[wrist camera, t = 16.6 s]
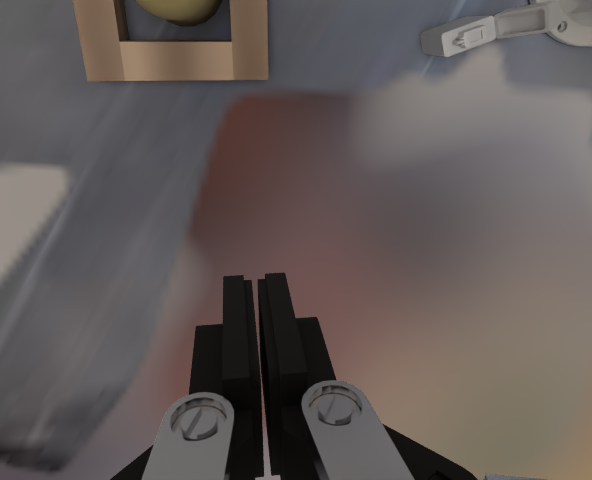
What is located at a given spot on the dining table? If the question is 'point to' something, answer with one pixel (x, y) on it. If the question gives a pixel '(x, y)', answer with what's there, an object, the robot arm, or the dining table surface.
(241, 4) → the socket block
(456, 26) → the lighter
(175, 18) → the cork
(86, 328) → the dining table surface
